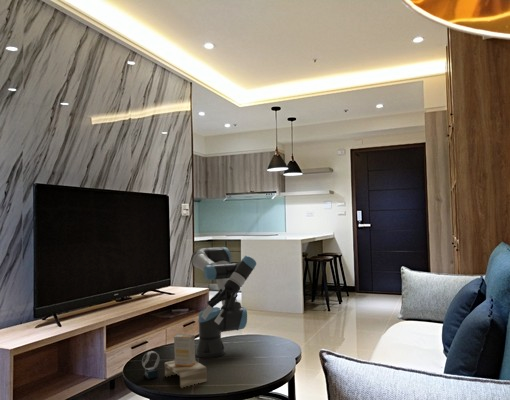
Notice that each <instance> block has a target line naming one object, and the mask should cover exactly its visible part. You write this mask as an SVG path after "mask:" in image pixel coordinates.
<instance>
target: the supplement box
mask: <svg viewBox="0 0 510 400" xmlns="http://www.w3.org/2000/svg"><path fill="white" fill-rule="evenodd" d="M195 341H196V340H195V334H193V333H191V334H187V333H178V334H175V336H173V345H174V347H173V348H174V350H173V351H174V360H175V366H187V367H191V366H193V365H194V364H195V361H196V347H195V346H196V345H195Z"/></svg>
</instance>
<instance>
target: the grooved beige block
mask: <svg viewBox="0 0 510 400" xmlns="http://www.w3.org/2000/svg"><path fill="white" fill-rule="evenodd" d="M207 373H208V372H207V366H205V365H204V364H202V363H200V362H198V361H197V360H195V364H194V365H193V366H191V367H187V366H175V359H174V360H169V361H166V362H164V377H165V376H166V378H168V376H169V377H172V376H171V375H173V376H176V374H177V376H179V387H180V388H181V389H184V388H183V387H185V388H187V387H186V386H188V387H191V386H190V385H192V386H195V385H199V384H201V383H206V382H207V381H208V378H207V377H208V376H207ZM198 383H199V384H198ZM194 384H195V385H194Z"/></svg>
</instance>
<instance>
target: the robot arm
mask: <svg viewBox="0 0 510 400" xmlns="http://www.w3.org/2000/svg"><path fill="white" fill-rule="evenodd" d="M190 261H191V264H192V266H193V267H195V268H196V269H200V270H201V271H202V272H203V276H204V279H205V280H206V281H215V280H216V285H217V288H218V292H217V293H216V294H214V295H213V296H212V297H211V298H210V299H209V300H208V301H207V307H206V308H204V309H202V310H201V311H200V312H199V314H198V343H197V345H196V348H195V356H196V357H199V358H203V359H211V358H217V357H221V356H223V355H225V353H226V352H225V350H226V349H225V345H224V343H223V340H222V333H225V332H226V333H227V332H232V331H239V330H240V331H241V330H243V329H245V328H246V326H247V323H248V310H247V308H246V307H245V306H242V305H241V302H239V301H238V299H237V297H238V296H239V295H238V293H239V292H240V290H241V288H242V287H243V286H244V284H245V282H246V281H247V280H248V279H249V277H250V275H251V274H252V272H253V271H254V270H255V268H256V266H257V262H256V261H257V260H255V259H254V258H253V257H252V256H250V255H244V257H243V258H242V259H241V261H239V262H236V263H235V262H234V263H232V255H231V252H230V249H229V248H228V247H225V246H217V247H216V246H215V247H201V248H198V249H197V250H195V251H194V252H193V253H192V255H191V257H190ZM219 303H221V304H222V305H221V307H217V305H218V304H219Z"/></svg>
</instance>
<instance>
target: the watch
mask: <svg viewBox="0 0 510 400" xmlns="http://www.w3.org/2000/svg"><path fill="white" fill-rule="evenodd" d="M152 354H156V356H157V358H156V361H155V363H154V364H153V366H151V367H146V365H147V363H148V362H149V360H150V357H151V355H152ZM160 360H161V358H160V354H159V353H157V352H156V351H153V350H150V351H147V352H145V353H144V354H143V356H142V358H141V364H142V365H141V366H142V367H143V369H144V377H145V378H147V379H148V380H150V378H152V379H155V378H154V377H156V378H158V377H159V376H158V375H159V374H158V371H159V370H158V369H157V368H158V366H159V363H160Z"/></svg>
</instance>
